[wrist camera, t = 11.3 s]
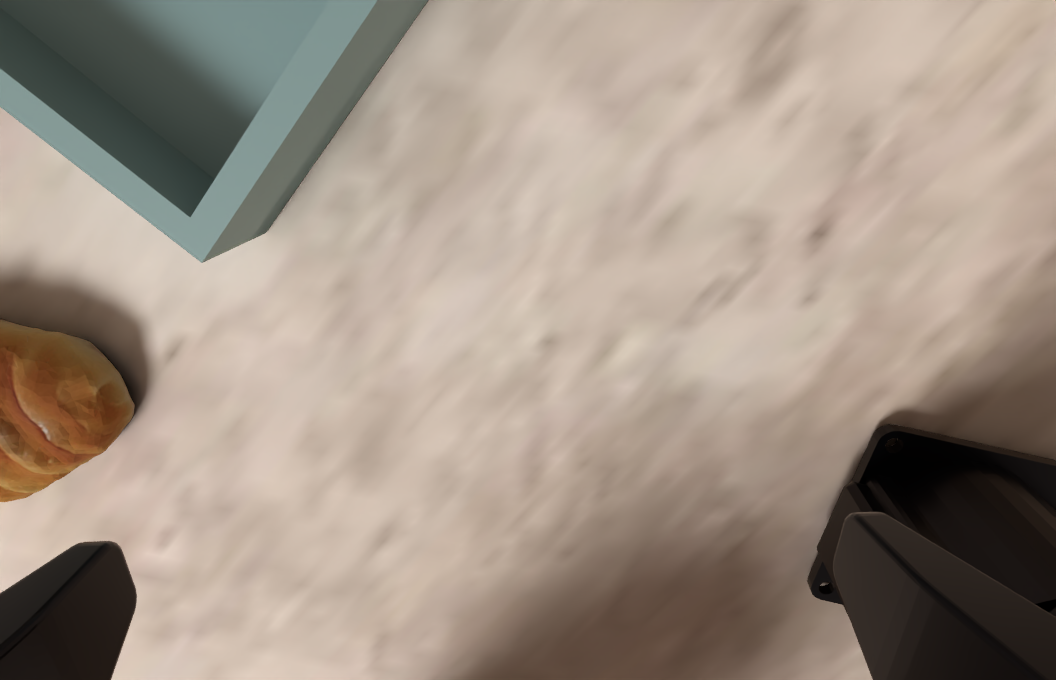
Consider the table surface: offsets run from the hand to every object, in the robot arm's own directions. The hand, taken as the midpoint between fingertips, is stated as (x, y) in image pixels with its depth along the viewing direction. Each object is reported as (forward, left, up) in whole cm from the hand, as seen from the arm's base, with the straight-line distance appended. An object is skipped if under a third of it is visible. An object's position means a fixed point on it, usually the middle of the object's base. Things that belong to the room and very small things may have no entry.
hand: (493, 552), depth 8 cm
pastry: (+18, +8, -13) cm, 23 cm away
